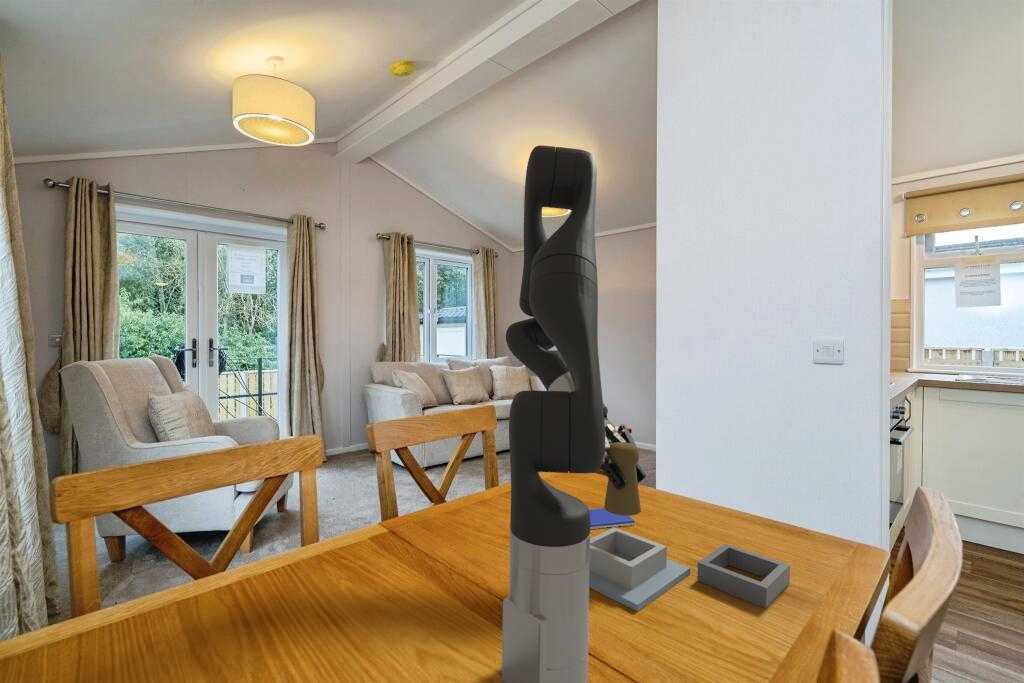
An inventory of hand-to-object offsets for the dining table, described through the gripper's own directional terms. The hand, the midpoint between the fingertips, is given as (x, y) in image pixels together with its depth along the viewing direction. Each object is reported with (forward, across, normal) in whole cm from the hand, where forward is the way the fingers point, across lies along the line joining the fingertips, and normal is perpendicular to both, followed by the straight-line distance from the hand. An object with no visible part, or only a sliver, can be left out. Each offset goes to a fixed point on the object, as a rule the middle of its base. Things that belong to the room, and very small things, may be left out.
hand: (632, 483), depth 78 cm
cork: (+2, 0, +5) cm, 5 cm away
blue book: (-1, +15, +24) cm, 28 cm away
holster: (+20, +12, +1) cm, 24 cm away
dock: (+10, 0, +12) cm, 15 cm away
